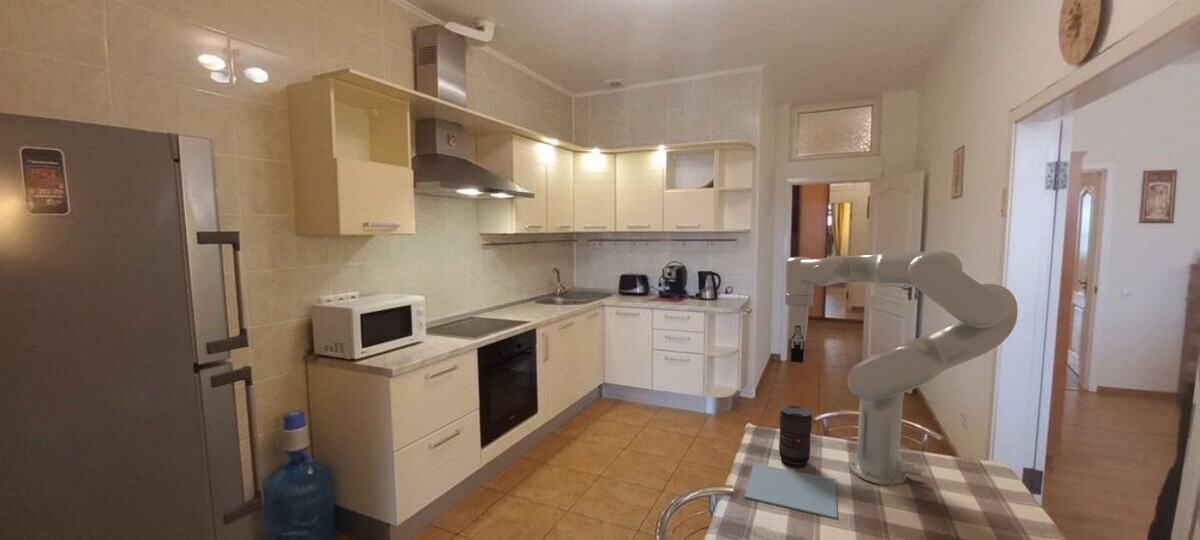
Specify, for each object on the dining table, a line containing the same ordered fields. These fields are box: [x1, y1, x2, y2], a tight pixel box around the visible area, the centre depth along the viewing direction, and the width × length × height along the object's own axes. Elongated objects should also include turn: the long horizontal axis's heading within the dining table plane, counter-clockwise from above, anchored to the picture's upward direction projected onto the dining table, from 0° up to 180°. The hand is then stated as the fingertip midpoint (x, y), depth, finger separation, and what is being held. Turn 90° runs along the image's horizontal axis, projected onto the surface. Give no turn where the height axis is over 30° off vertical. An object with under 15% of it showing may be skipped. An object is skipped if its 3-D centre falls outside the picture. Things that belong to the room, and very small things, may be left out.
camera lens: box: [778, 404, 813, 469], centre depth 129 cm, size 8×8×15 cm
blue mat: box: [743, 462, 838, 520], centre depth 117 cm, size 20×17×1 cm
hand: (797, 357), depth 138 cm, fingers open, 9 cm apart
